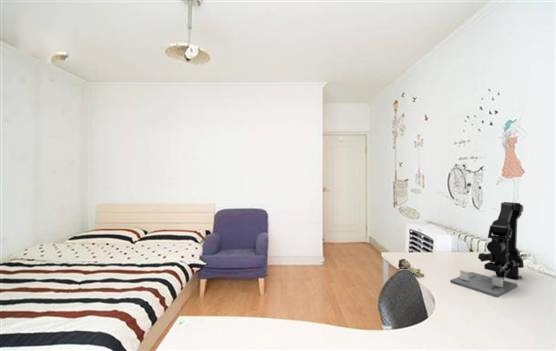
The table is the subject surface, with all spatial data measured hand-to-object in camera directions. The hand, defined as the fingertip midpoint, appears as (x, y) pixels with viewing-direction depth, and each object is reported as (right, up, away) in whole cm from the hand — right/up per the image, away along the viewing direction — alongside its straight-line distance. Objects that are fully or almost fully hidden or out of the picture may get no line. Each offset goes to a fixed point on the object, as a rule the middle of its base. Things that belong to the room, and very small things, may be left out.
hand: (500, 282), depth 133 cm
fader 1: (-13, -1, +6) cm, 14 cm away
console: (-6, -3, +4) cm, 7 cm away
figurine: (-34, -3, +20) cm, 40 cm away
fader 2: (-3, -1, -1) cm, 3 cm away
